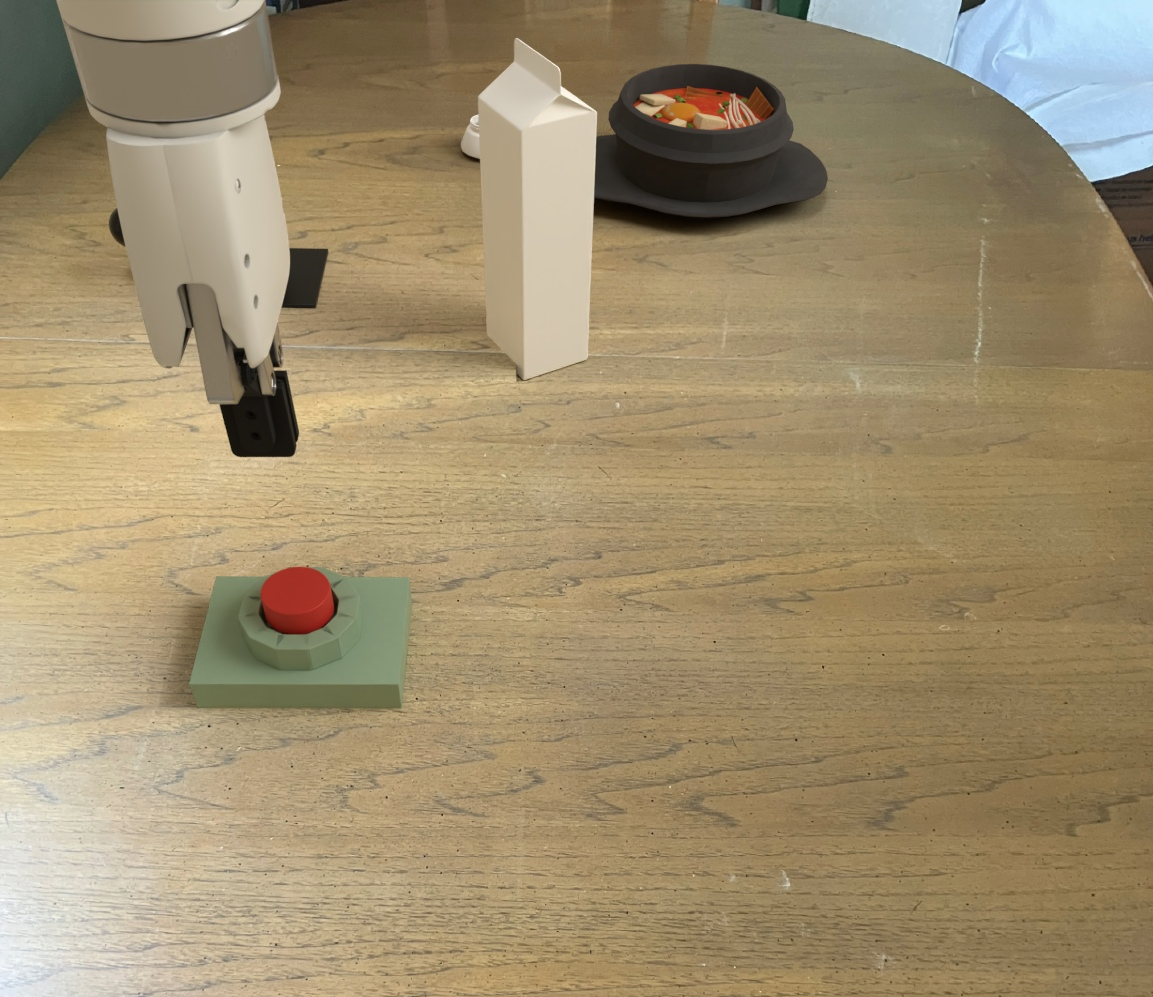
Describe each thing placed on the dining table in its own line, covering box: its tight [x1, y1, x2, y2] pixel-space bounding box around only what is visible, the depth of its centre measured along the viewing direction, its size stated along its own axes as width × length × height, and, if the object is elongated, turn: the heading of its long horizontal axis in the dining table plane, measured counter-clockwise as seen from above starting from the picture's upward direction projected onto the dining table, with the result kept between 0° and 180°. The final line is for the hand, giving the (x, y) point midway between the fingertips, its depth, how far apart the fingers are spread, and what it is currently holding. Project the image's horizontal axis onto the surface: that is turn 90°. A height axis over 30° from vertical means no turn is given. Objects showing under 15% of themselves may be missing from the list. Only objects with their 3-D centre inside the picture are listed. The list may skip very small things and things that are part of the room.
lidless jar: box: [460, 114, 480, 160], centre depth 113 cm, size 5×3×5 cm
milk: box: [477, 37, 598, 381], centre depth 83 cm, size 6×6×22 cm
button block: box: [188, 566, 413, 709], centre depth 69 cm, size 12×9×4 cm
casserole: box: [594, 63, 829, 219], centre depth 107 cm, size 25×19×8 cm
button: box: [260, 566, 334, 635], centre depth 67 cm, size 4×4×2 cm
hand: (266, 446), depth 59 cm, fingers closed
